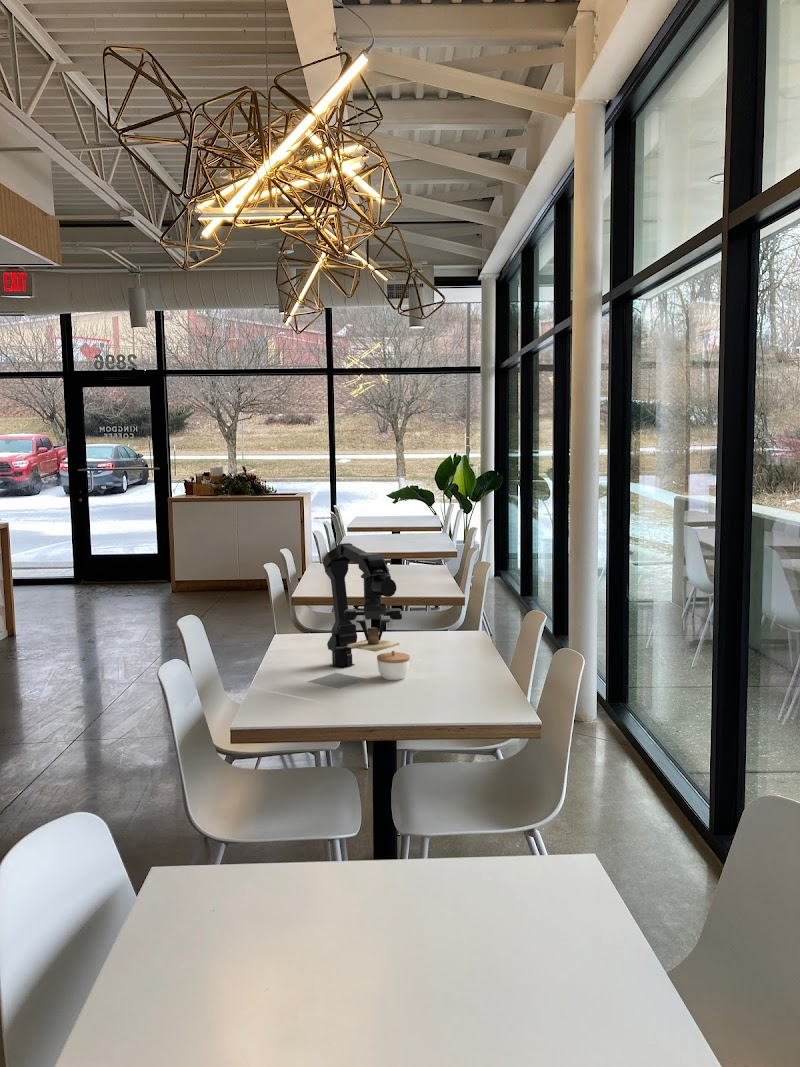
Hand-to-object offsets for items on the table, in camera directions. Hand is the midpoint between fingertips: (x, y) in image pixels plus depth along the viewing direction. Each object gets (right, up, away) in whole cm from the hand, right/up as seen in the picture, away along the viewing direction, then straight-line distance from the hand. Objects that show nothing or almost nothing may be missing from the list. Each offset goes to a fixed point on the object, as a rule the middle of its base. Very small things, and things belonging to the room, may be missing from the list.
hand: (373, 640), depth 290 cm
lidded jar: (+7, -13, +2) cm, 15 cm away
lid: (0, -2, 0) cm, 2 cm away
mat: (-12, -13, 0) cm, 18 cm away
